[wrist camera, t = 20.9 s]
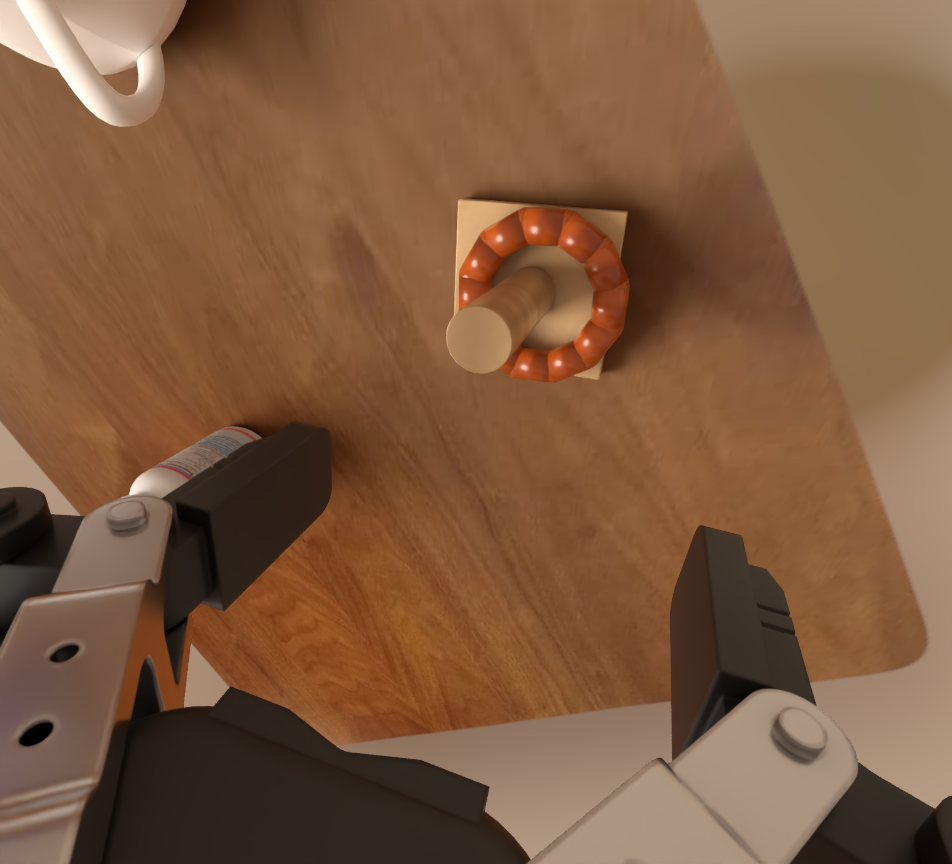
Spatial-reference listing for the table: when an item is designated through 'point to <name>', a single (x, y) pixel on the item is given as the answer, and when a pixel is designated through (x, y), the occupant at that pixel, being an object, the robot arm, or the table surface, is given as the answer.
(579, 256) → the ring
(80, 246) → the table surface
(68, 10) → the teapot
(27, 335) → the table surface
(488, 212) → the post
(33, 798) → the robot arm
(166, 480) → the pill bottle
